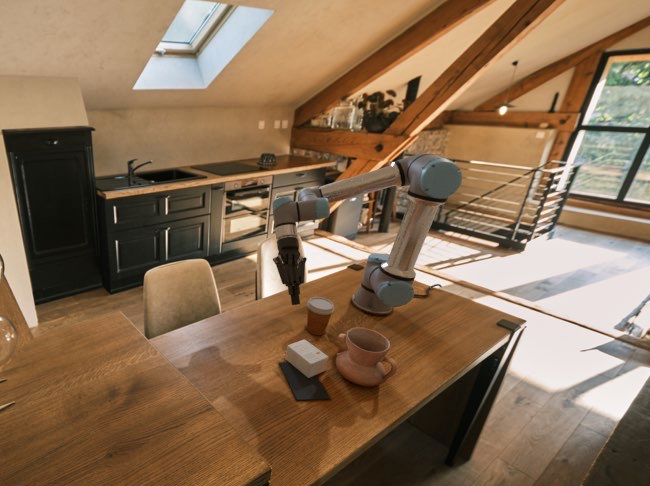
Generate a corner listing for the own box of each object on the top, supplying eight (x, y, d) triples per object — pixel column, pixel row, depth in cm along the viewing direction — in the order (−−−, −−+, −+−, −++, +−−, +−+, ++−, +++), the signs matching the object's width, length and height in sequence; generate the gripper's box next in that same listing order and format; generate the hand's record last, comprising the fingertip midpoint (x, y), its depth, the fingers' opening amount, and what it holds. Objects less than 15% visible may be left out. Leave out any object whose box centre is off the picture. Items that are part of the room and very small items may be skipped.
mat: (279, 363, 126) (279, 362, 126) (308, 362, 127) (308, 361, 127) (297, 400, 111) (297, 399, 111) (329, 399, 112) (330, 398, 112)
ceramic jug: (321, 369, 124) (330, 333, 118) (344, 352, 132) (353, 317, 127) (377, 404, 111) (389, 365, 105) (398, 382, 119) (411, 345, 114)
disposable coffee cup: (325, 324, 148) (331, 297, 143) (331, 339, 139) (338, 311, 134) (300, 322, 148) (305, 295, 144) (305, 336, 140) (310, 309, 135)
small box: (284, 358, 128) (307, 378, 119) (287, 344, 126) (311, 364, 117) (302, 352, 131) (326, 371, 123) (304, 338, 129) (329, 357, 121)
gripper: (296, 242, 143) (304, 305, 137) (265, 241, 139) (273, 306, 133) (308, 236, 137) (318, 302, 131) (277, 235, 132) (286, 303, 126)
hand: (296, 304), depth 132 cm, fingers closed
